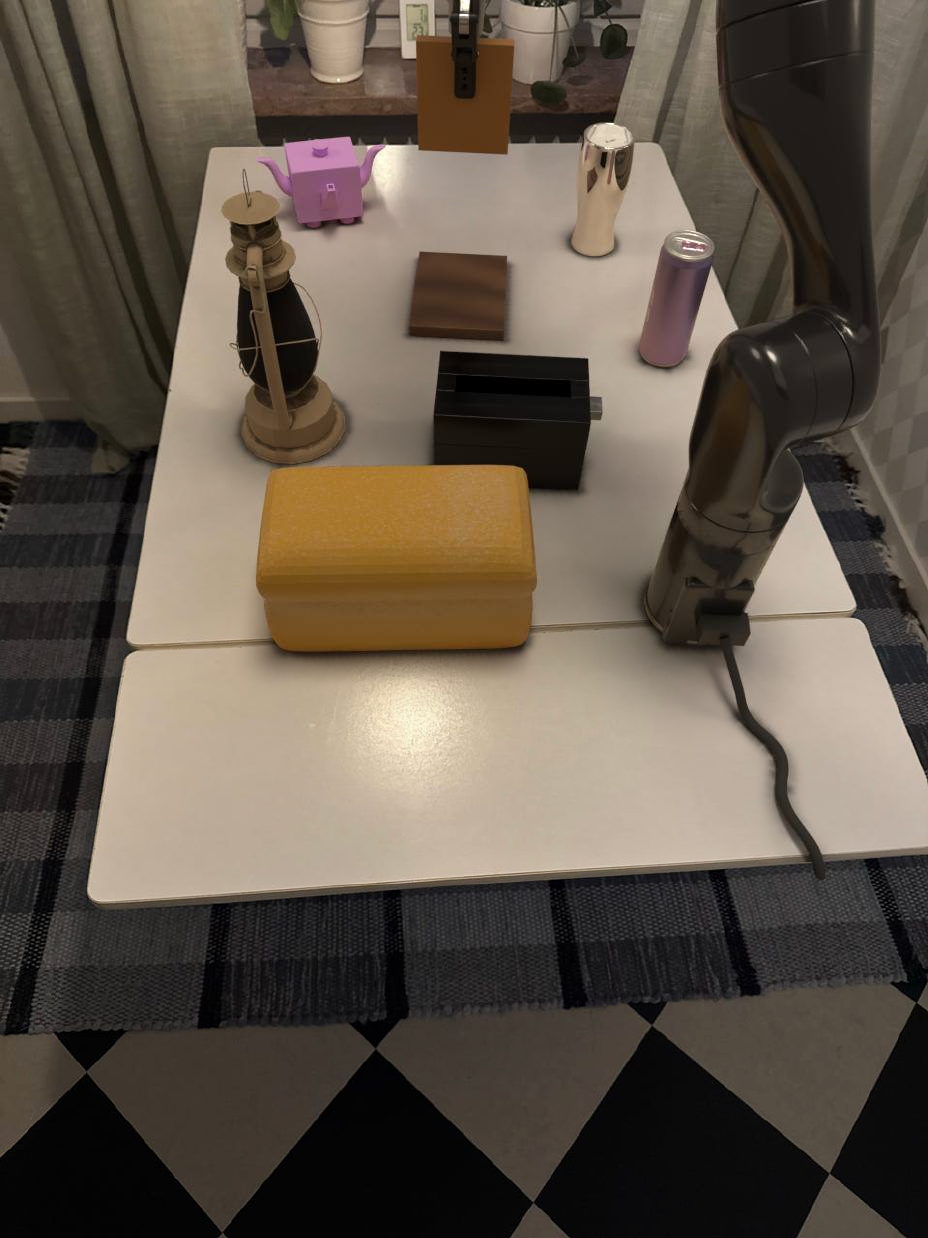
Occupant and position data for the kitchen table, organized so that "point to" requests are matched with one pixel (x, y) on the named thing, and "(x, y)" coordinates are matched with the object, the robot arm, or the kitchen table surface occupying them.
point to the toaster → (515, 414)
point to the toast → (460, 119)
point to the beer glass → (601, 185)
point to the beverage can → (676, 297)
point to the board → (459, 296)
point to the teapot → (324, 179)
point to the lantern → (276, 341)
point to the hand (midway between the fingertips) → (465, 91)
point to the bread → (397, 557)
